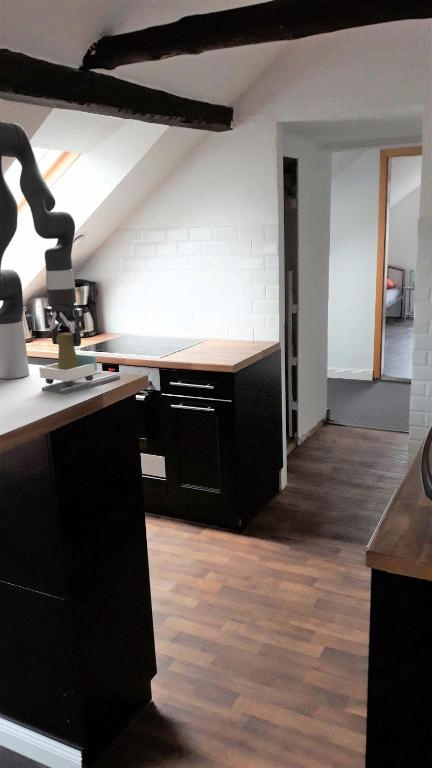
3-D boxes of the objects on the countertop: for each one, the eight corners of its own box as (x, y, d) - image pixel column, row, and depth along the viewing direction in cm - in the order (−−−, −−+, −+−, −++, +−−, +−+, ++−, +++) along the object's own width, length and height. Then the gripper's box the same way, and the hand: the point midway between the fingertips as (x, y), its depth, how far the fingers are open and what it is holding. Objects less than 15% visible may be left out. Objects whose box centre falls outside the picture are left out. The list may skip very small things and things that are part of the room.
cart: (41, 384, 171) (38, 360, 169) (71, 376, 179) (69, 353, 178) (67, 388, 164) (65, 363, 162) (98, 379, 173) (95, 356, 171)
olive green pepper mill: (74, 373, 168) (70, 334, 166) (54, 373, 169) (50, 335, 167) (83, 369, 174) (79, 331, 171) (63, 369, 175) (59, 331, 172)
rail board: (42, 390, 170) (41, 386, 170) (96, 375, 187) (96, 371, 186) (65, 394, 164) (65, 389, 164) (120, 378, 181) (119, 374, 181)
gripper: (89, 286, 164) (94, 344, 168) (54, 285, 173) (60, 341, 177) (67, 288, 159) (73, 349, 163) (33, 287, 167) (39, 345, 171)
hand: (66, 345), depth 170 cm, fingers open, 8 cm apart
